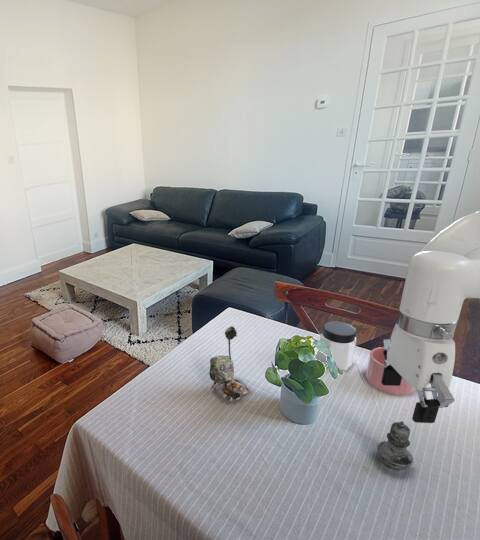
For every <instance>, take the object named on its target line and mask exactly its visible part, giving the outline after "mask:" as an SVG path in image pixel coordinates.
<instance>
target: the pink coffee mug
mask: <svg viewBox="0 0 480 540" xmlns="http://www.w3.org/2000/svg"><path fill="white" fill-rule="evenodd" d="M384 350H385V349H384V346H382V347H375V348H373V349H371V350H370V352H369V355H368V361H367V366H366V372H365V379H366V380H367V382H368V383H369V384H370V385H371V386H372V387H374V388H376V389H377V390H379V391H382V392H384V393H387V394H390V395H396V396H407V395H410V394H412V393H414V392H415V390H416V389H414V388H413V387H412V386H411V385H410V384H409V383H408V382H407V381H406V380H405V379H404V378H403V377H402V380H401V384H400V385H399V386H389V385H383V384H382V383H381V381H382V376H383V371H384V367H385V366H384V364H383V362H384V361H385V357H384V354H383V352H384Z"/></svg>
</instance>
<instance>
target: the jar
mask: <svg viewBox="0 0 480 540" xmlns="http://www.w3.org/2000/svg"><path fill="white" fill-rule="evenodd" d="M356 334H357V330H356V328H355V327H354V326H352V325H350V324H348V323H346V322H342V321H336V320H335V321H327V322H325V323H324V324H323V325H322V332H321V333H320V335H319V342H320V341H321V342H324V343H325V344H326V345H327V346H328V347H329V348H330V350H331V352H332V356H333V359H334V360H335V362H336V363H337V365H338V367H339V368H340V369H341V370H340V371H347V370H348V369H349V368H350V367H352V365H353V364H354V358H355V352H356V351H355V350H356V344H357V337H356ZM319 360H320V361H322V362H324V363H325V361H326V356H325V355H324V354H323V353H321V352H319V350H318V352H317V361H319ZM320 361H319V362H320ZM324 366H325V368H327V364H326V363H325V365H324Z"/></svg>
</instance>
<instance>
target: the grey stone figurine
mask: <svg viewBox="0 0 480 540" xmlns="http://www.w3.org/2000/svg"><path fill="white" fill-rule="evenodd" d="M410 435H411V429H410V427H409V426H407V424H405V422H404V421H402V420H401V421H395V422H393V423H392V424H391V426H390V430H389V432H387V433H386V439H387V441H381V442H379V443H377V445H376V450H377V453H378V457H379V458H380V460H381V461H382V462H383V463H384V464H385V465H386V466H387V467H389V468H390V469H393V470H400V471H403V470H407V469H408V468H410V467H411V466H412V465H413V464H414V461H415V460H414V457H413V455H412V453H411V452H410V451H409V450H408V448H409V447H410V445H411V442H410V440H409V438H410Z"/></svg>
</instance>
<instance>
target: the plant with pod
mask: <svg viewBox="0 0 480 540" xmlns="http://www.w3.org/2000/svg"><path fill="white" fill-rule="evenodd" d="M237 332H238V331H237V330H236V328H235V326H233V325H231V326H229V327H228V328H226V329H225V331H224V335H225V338H226V339H227V340H228V355H217V356H213V357H211V355H209V357H211V358H210V359H209V364H210V365H209V372H208V374H209V378H210V380H211V381H213V384H212V385H211V388H210V392H209V395H212V393H213V391H214V390H219V387H221V388H220V390H221V394H222V395H223V398H224V400H226V401H227V402H233V401H239V400H240V399H241V398H242V396H245V394H247V393H248V394H249V389H248V388H247V385H245V384H243V383H241V382H240V380H239V379H234V378H235V367H234V366H235V365H234V360H233V358H232V356H231V341H232V340H234V338H237V337H238V335H237V334H238V333H237ZM217 384H218V385H217ZM216 385H217V386H216ZM222 387H223V388H222Z"/></svg>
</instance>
